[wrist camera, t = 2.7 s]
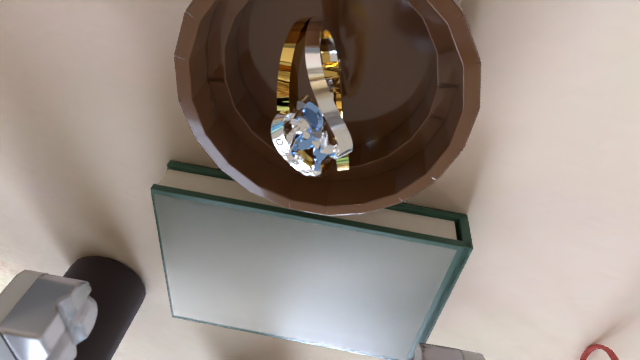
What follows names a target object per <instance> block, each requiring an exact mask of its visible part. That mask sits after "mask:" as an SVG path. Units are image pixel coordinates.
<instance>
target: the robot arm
mask: <svg viewBox="0 0 640 360" xmlns="http://www.w3.org/2000/svg"><path fill="white" fill-rule="evenodd" d="M91 290H92V289H91V287H90V284H89V282H88V281H82V280H77V279H71V278H66V277H61V276H55V275H50V274H47V273H41V272H36V271H30V270H24V271H22V272H21V273H19V274H17V275H16V276H15V277H14V279H13V280H12V281H11V282H10V283H9V284H8V285H7V287H6V288H5V289H4V290H3V291H2V292H1V294H0V360H74V359H75V357H76V355H77V350H76V345H77V344H78V343H80V342H82V341H83V340H85V339H86V338H87V337H88V336H89V334H90V332H91V331H92V329H93V327H94V324H95V321H96V318H97V312H98V307H97V304H96V301H95V300H94V299H93V298H92V297H90V296H89V294H90V292H91ZM409 360H485V358H484V357H483V355H482V354H480V353H476V352H470V351H464V350H459V349H455V348H449V347H443V346H437V345H431V344H425V343H418V344H417V345H416V347H415V349H414V358H411V359H409Z"/></svg>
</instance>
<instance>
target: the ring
mask: <svg viewBox="0 0 640 360" xmlns="http://www.w3.org/2000/svg"><path fill="white" fill-rule="evenodd" d="M304 46H305V59H306V67H307V72H308V77H309V80H310V84H311V87H312V90H313V93H314V95H315V98H316V100H317V102H316V101H314V100H312V97H310V96H308V95H304V96H303V97H302V98H300V99H299V100H298V71H299V64H300V59H301V55H302V51H303V48H304ZM320 51H321V55H322V60H323V63H322V64H321V58H320ZM341 72H342V67H341V58H340V57H339V52H338V46H337V40H336V36H335V32H334V28H333V25H332V23H331V21H330V19H329V18H328V17H327V16H314V17H303V18H300V19H299V20H297V21H296V22H295V23H294V25H293V26H292V27H291V29H290V31H289V33H288V35H287V38H286V40H285V43H284V46H283V50H282V54H281V59H280V64H279V71H278V81H277V115H276V116H275V118H274V119H273V122H272V125H271V136H272V140H273V143H274V145H275V147H276V149H277V150H278V152H279V153H280V154H281V155H282V157H283V158H284V159H285V160H286V161H287V162H288V163H289V164H291V165H292V166H293V167H294V168H295V169H297V170H298V171H299V172H301V173H302V174H304V175H306V176H309V177H315V176H327V175H328V174H330V172H331V171H332V169H333V166H334V162H335V159H336V164H337V170H338V172H349V156H348V154H349V153H351V152H352V149H353V143H352V139H351V136H350V133H349V131H348V129H347V127H346V125H345V123H344V112H343V97H342V84H341ZM301 108H303V110H300V109H301ZM325 119H326V121H327V122H328V126H327V122H325ZM290 123H291V124H292V129H291V130H290V132H289V124H290ZM326 127H327V130H326ZM325 130H326V131H325ZM296 134H297V136H296ZM295 136H296V138H294V137H295ZM312 147H313V159H312V158H311V157H310V156H309V155H308V154H306V153H305V152H304V151H303V150H308V149H310V148H312Z"/></svg>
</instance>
